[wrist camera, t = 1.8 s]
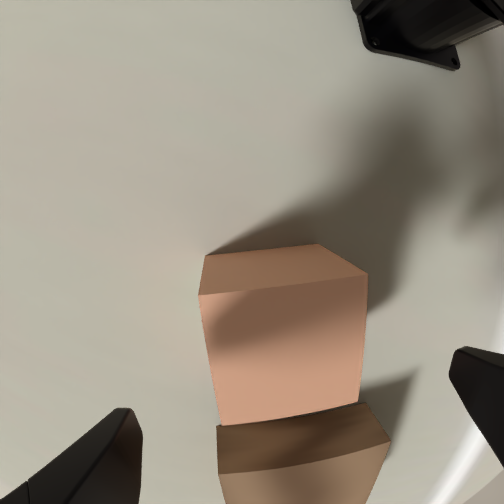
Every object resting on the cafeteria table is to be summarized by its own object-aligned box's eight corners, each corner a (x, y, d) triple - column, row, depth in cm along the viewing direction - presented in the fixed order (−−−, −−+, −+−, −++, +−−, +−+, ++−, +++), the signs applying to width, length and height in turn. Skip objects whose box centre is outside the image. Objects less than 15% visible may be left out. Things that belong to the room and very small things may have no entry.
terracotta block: (317, 243, 14) (368, 274, 9) (319, 341, 15) (357, 401, 10) (205, 255, 13) (198, 295, 8) (219, 355, 14) (221, 425, 9)
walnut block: (363, 399, 16) (391, 440, 12) (344, 477, 18) (360, 513, 14) (216, 422, 15) (218, 474, 12) (231, 496, 17) (235, 536, 14)
